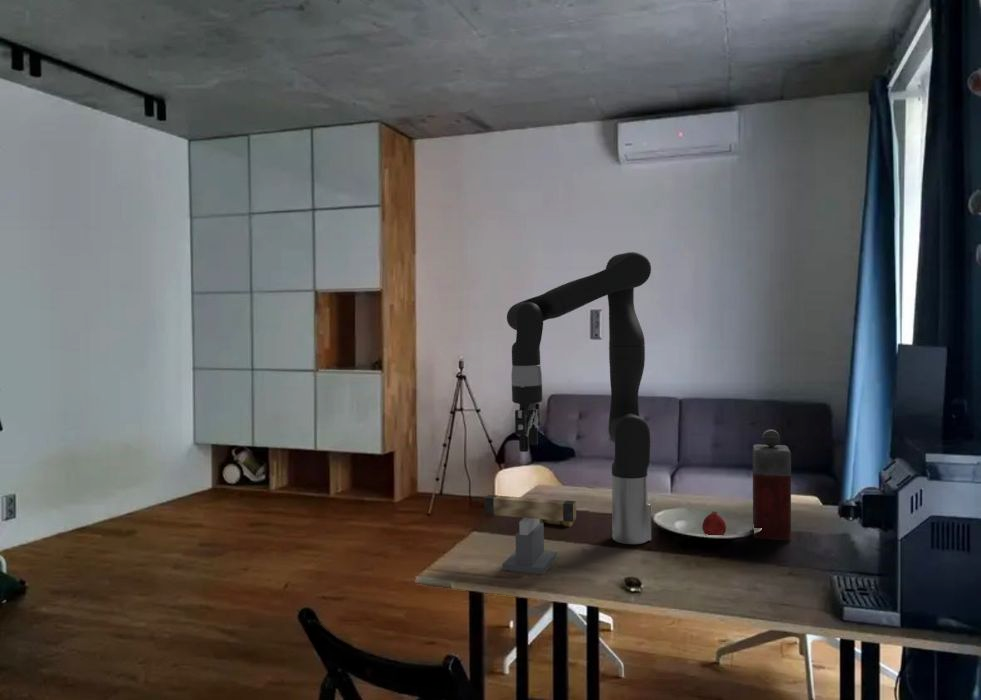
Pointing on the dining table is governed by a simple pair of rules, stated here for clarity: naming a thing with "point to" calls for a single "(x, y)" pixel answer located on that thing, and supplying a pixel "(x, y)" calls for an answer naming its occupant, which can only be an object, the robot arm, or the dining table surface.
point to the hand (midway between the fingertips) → (528, 448)
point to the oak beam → (530, 508)
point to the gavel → (556, 522)
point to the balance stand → (530, 549)
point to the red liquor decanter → (772, 488)
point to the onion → (714, 524)
